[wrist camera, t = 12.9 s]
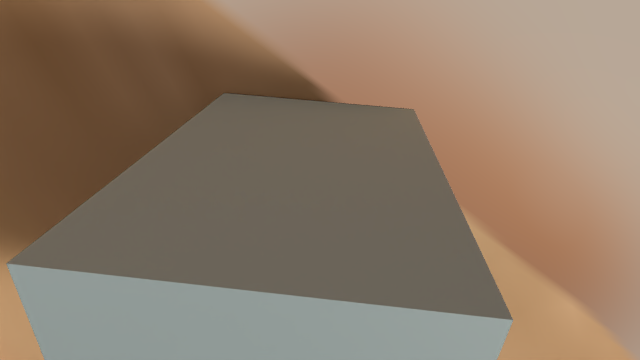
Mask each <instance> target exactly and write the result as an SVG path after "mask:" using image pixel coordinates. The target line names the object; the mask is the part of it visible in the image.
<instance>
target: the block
mask: <svg viewBox="0 0 640 360" xmlns="http://www.w3.org/2000/svg"><path fill="white" fill-rule="evenodd" d="M6 264H7V267H8V269H9V272H10V274H11V277H12V279H13V282H14V284H15V287H16V289H17V292H18V294H19V297H20V299H21V302H22V304H23V307H24V309H25V312H26V314H27V317H28V319H29V322H30V324H31V327H32V329H33V332H34V334H35V337H36V339H37V342H38V344H39V347H40V349H41V352H42V354H43V357H44V359H45V360H497V358H498V356H499V353H500V351H501V348H502V346H503V344H504V341H505V339H506V336H507V334H508V331H509V329H510V327H511V324H512V322H513V319H512V317H511V314H510V312H509V310H508V308H507V306H506V304H505V302H504V300H503V298H502V295H501V293H500V291H499V289H498V287H497V285H496V283H495V281H494V278H493V276H492V274H491V272H490V270H489V268H488V266H487V264H486V262H485V259H484V257H483V255H482V253H481V251H480V249H479V247H478V245H477V242H476V240H475V238H474V236H473V234H472V232H471V230H470V228H469V225H468V223H467V221H466V219H465V217H464V215H463V213H462V211H461V209H460V206H459V204H458V202H457V200H456V198H455V196H454V194H453V192H452V189H451V187H450V185H449V183H448V181H447V179H446V177H445V175H444V173H443V170H442V168H441V166H440V164H439V162H438V160H437V158H436V156H435V153H434V151H433V149H432V147H431V145H430V143H429V141H428V139H427V136H426V135H425V132H424V130H423V128H422V126H421V124H420V122H419V120H418V118H417V115H416V113H415V111H414V110H413V109H404V108H392V107H380V106H369V105H357V104H346V103H334V102H322V101H311V100H299V99H288V98H276V97H264V96H253V95H241V94H229V93H223V94H222V95H221V96H220V97H218V98H217V99H216V100H214V101H213V102H212V103H211V104H209V105H208V106H207V107H206V108H204V109H203V110H202V111H200V112H199V113H198V114H197V115H195V116H194V117H193V118H191V119H190V120H189V121H188V122H186V123H185V124H184V125H183V126H181V127H180V128H179V129H177V130H176V131H175V132H174V133H172V134H171V135H170V136H169V137H167V138H166V139H165V140H163V141H162V142H161V143H160V144H158V145H157V146H156V147H154V148H153V149H152V150H151V151H149V152H148V153H147V154H146V155H144V156H143V157H142V158H140V159H139V160H138V161H137V162H135V163H134V164H133V165H131V166H130V167H129V168H128V169H126V170H125V171H124V172H123V173H121V174H120V175H119V176H117V177H116V178H115V179H114V180H112V181H111V182H110V183H109V184H107V185H106V186H105V187H103V188H102V189H101V190H100V191H98V192H97V193H96V194H94V195H93V196H92V197H91V198H89V199H88V200H87V201H86V202H84V203H83V204H82V205H80V206H79V207H78V208H77V209H75V210H74V211H73V212H72V213H70V214H69V215H68V216H66V217H65V218H64V219H63V220H61V221H60V222H59V223H57V224H56V225H55V226H54V227H52V228H51V229H50V230H49V231H47V232H46V233H45V234H43V235H42V236H41V237H40V238H38V239H37V240H36V241H35V242H33V243H32V244H31V245H29V246H28V247H27V248H26V249H24V250H23V251H22V252H20V253H19V254H18V255H17V256H15V257H14V258H13V259H12V260H10V261H9V262H8V263H6Z"/></svg>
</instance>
